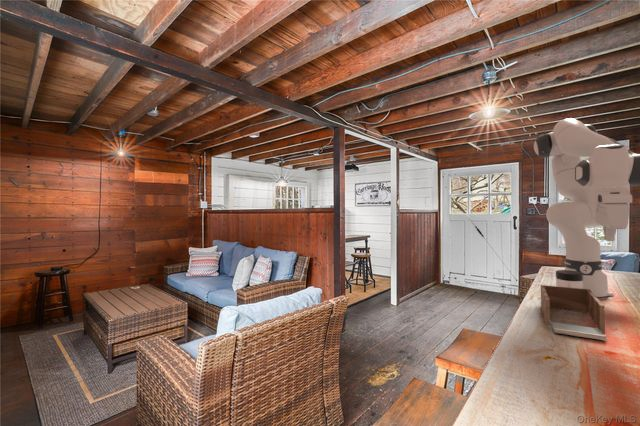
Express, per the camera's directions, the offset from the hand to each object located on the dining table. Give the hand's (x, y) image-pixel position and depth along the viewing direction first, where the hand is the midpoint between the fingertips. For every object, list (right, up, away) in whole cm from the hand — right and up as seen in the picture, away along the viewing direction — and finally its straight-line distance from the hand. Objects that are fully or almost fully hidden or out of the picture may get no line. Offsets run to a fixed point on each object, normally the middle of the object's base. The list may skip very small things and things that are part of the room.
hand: (609, 240), depth 95 cm
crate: (-7, -27, +7) cm, 28 cm away
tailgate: (-12, -27, -1) cm, 30 cm away
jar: (+6, -26, +22) cm, 35 cm away
